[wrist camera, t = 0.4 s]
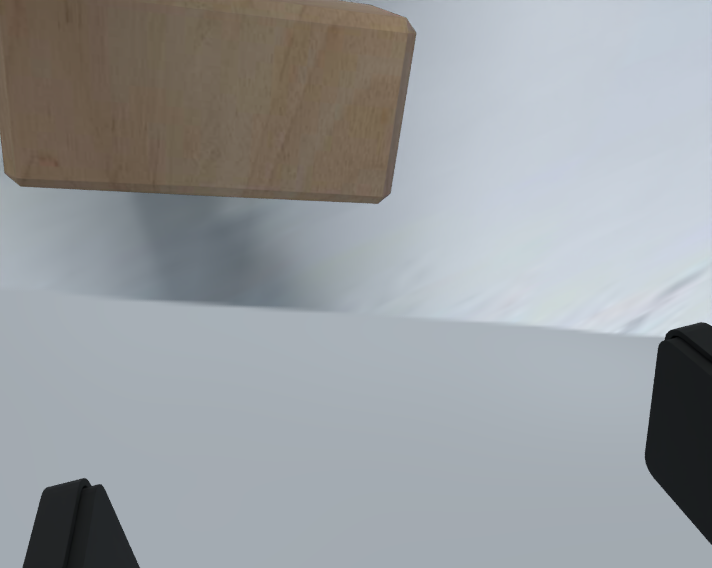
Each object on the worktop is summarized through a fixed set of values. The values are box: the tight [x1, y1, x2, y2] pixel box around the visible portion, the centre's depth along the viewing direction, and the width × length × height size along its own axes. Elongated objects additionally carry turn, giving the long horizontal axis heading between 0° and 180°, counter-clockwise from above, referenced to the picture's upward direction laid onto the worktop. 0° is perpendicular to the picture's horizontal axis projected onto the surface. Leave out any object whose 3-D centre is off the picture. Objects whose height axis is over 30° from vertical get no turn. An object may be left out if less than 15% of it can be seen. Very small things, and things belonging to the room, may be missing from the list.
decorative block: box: [0, 0, 416, 204], centre depth 26 cm, size 11×6×20 cm, turn 81°
